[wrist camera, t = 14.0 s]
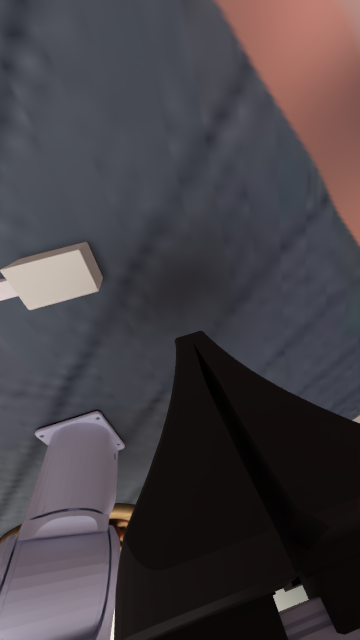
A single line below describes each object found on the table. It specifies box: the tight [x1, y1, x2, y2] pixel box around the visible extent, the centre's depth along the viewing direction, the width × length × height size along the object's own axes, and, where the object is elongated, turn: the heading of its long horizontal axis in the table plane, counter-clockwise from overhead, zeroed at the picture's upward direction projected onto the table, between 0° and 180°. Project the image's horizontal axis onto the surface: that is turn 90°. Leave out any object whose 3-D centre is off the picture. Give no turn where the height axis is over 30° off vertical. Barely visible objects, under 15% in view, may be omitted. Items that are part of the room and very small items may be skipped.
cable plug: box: [0, 242, 103, 310], centre depth 15 cm, size 3×7×3 cm, turn 102°
